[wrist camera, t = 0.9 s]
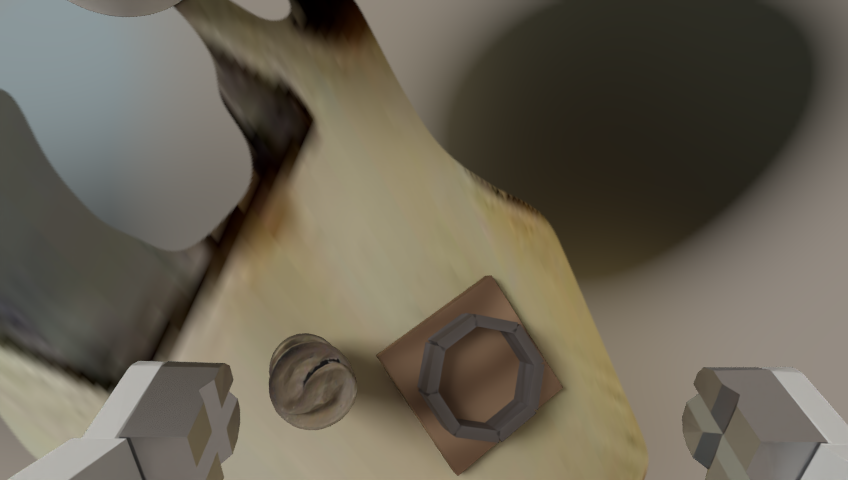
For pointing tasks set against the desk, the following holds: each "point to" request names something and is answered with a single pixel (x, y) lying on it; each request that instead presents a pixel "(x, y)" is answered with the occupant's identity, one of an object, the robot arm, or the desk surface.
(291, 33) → the desk surface
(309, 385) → the light bulb
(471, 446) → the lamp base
